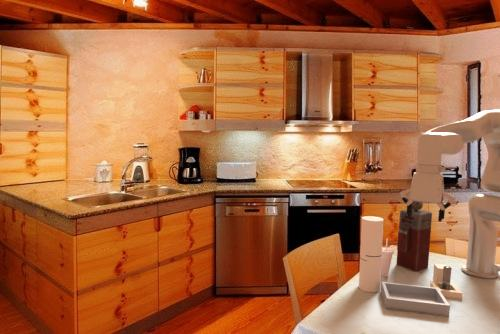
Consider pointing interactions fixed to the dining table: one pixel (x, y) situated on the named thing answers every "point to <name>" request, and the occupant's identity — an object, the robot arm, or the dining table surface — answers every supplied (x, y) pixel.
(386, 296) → the tray
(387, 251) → the smoothie
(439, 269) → the beige stepped block
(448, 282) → the post
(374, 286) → the cylindrical container
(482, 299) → the dining table surface
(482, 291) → the dining table surface
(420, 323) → the dining table surface
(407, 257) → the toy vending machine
